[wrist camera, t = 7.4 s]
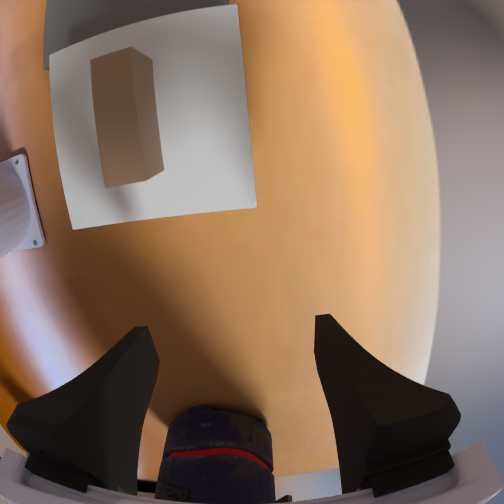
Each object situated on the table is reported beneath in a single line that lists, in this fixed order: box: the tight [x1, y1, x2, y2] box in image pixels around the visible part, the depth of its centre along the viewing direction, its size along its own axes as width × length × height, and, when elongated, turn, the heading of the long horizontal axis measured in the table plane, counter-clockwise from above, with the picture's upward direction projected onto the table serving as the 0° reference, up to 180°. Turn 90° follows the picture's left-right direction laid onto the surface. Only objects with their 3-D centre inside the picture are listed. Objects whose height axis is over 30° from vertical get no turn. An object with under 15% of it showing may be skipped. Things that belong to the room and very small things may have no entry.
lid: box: [49, 4, 257, 230], centre depth 12 cm, size 11×11×4 cm
